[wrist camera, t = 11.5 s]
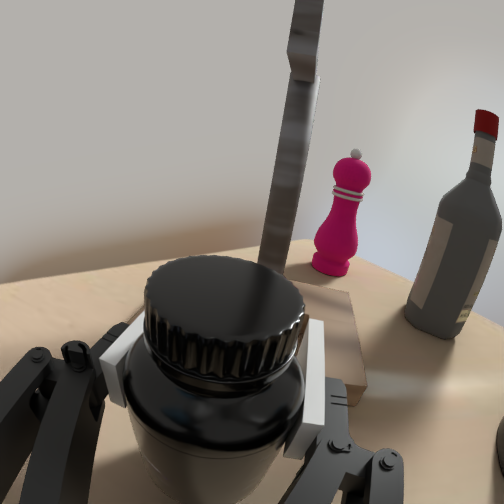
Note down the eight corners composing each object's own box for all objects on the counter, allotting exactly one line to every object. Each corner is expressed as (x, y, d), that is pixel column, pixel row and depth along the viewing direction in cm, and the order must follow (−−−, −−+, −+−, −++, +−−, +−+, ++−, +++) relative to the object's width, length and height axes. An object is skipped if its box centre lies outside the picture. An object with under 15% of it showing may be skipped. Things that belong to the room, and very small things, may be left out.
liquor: (400, 323, 33) (460, 94, 22) (407, 297, 40) (454, 111, 29) (456, 346, 29) (524, 120, 18) (454, 317, 36) (507, 132, 25)
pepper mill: (312, 274, 43) (342, 143, 36) (305, 256, 50) (329, 143, 43) (354, 280, 44) (387, 156, 36) (342, 262, 50) (369, 153, 43)
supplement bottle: (122, 472, 11) (58, 290, 6) (182, 402, 17) (188, 230, 12) (237, 530, 9) (317, 414, 4) (278, 442, 15) (346, 274, 10)
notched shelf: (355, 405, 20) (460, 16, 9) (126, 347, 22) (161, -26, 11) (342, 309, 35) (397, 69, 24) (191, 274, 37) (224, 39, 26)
